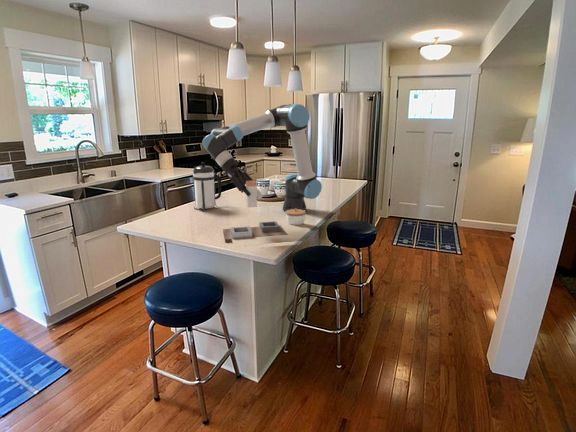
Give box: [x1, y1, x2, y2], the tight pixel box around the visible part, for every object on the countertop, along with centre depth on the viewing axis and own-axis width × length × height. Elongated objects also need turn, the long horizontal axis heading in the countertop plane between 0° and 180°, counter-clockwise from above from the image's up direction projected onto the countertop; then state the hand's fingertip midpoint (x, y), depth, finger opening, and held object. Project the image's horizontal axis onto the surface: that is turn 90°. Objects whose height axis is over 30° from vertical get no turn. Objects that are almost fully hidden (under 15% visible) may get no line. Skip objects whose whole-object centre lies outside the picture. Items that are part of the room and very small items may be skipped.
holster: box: [258, 220, 280, 232], centre depth 171 cm, size 9×9×2 cm
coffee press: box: [192, 161, 222, 212], centre depth 214 cm, size 17×16×30 cm
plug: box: [245, 180, 258, 208], centre depth 160 cm, size 4×4×12 cm
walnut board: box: [222, 224, 288, 243], centre depth 166 cm, size 30×16×2 cm, turn 104°
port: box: [229, 225, 253, 240], centre depth 161 cm, size 10×10×2 cm
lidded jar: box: [285, 208, 306, 226], centre depth 181 cm, size 11×11×9 cm
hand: (258, 198), depth 159 cm, fingers closed on plug, 6 cm apart
